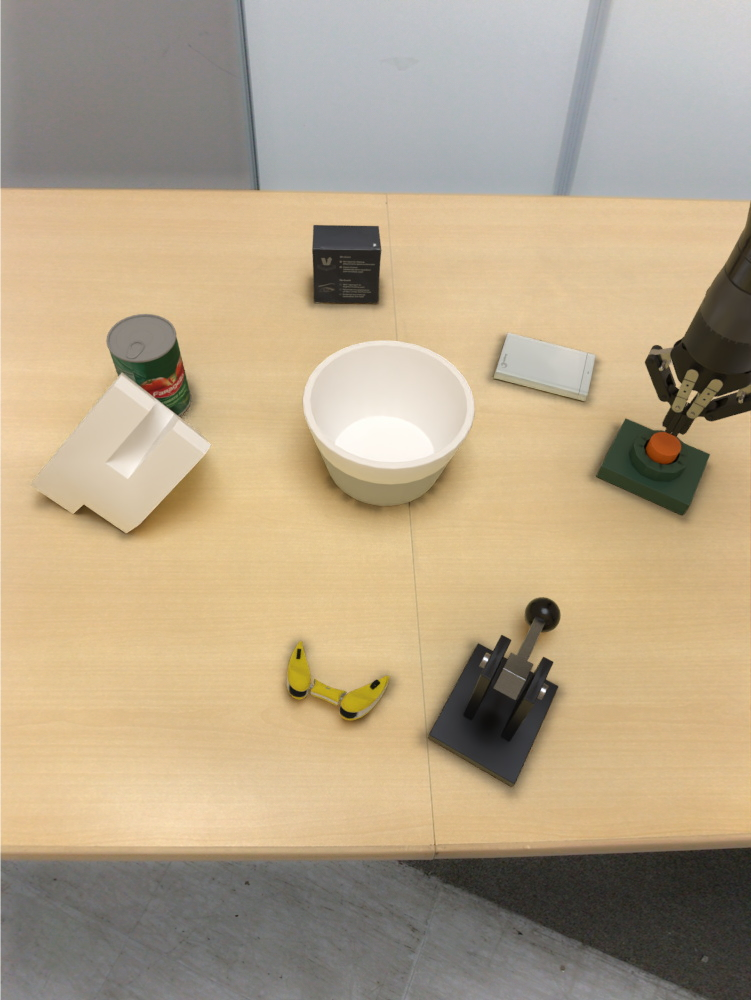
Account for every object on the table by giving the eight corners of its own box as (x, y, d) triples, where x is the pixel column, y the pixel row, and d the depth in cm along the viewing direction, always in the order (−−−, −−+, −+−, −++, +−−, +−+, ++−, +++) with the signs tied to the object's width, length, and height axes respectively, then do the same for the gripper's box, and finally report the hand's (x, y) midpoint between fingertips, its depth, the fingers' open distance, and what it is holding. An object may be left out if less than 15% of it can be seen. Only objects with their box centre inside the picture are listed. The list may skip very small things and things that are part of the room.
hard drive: (495, 370, 98) (588, 394, 97) (507, 330, 103) (596, 352, 101) (493, 379, 100) (584, 402, 98) (505, 339, 104) (593, 361, 102)
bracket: (476, 647, 77) (496, 595, 68) (556, 690, 75) (589, 642, 65) (427, 738, 72) (442, 695, 62) (512, 787, 69) (541, 751, 60)
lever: (523, 612, 78) (537, 585, 77) (555, 628, 77) (569, 601, 76) (483, 689, 65) (498, 658, 64) (520, 709, 64) (536, 679, 63)
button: (679, 448, 89) (685, 439, 88) (670, 469, 88) (676, 460, 86) (650, 436, 90) (656, 427, 89) (641, 456, 88) (646, 447, 87)
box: (376, 279, 110) (380, 224, 102) (378, 305, 107) (381, 249, 99) (314, 279, 110) (312, 222, 102) (313, 304, 106) (312, 248, 99)
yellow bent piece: (270, 700, 72) (273, 676, 70) (296, 657, 77) (301, 634, 75) (364, 740, 70) (371, 716, 68) (385, 693, 75) (392, 670, 74)
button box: (703, 464, 93) (716, 444, 90) (682, 515, 88) (696, 496, 85) (620, 429, 96) (630, 408, 92) (595, 476, 91) (605, 456, 88)
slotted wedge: (114, 541, 86) (174, 500, 73) (29, 484, 82) (77, 430, 69) (173, 455, 94) (238, 403, 80) (98, 399, 90) (154, 334, 76)
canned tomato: (142, 373, 97) (122, 307, 88) (199, 384, 97) (186, 319, 88) (118, 418, 93) (94, 353, 84) (178, 429, 92) (161, 366, 83)
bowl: (389, 554, 83) (396, 500, 74) (272, 459, 90) (265, 399, 81) (492, 458, 92) (509, 399, 83) (378, 378, 99) (382, 316, 90)
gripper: (663, 310, 71) (607, 427, 85) (802, 364, 68) (720, 476, 82) (685, 268, 75) (628, 387, 89) (818, 317, 72) (737, 432, 86)
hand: (672, 429), depth 86 cm, fingers closed
